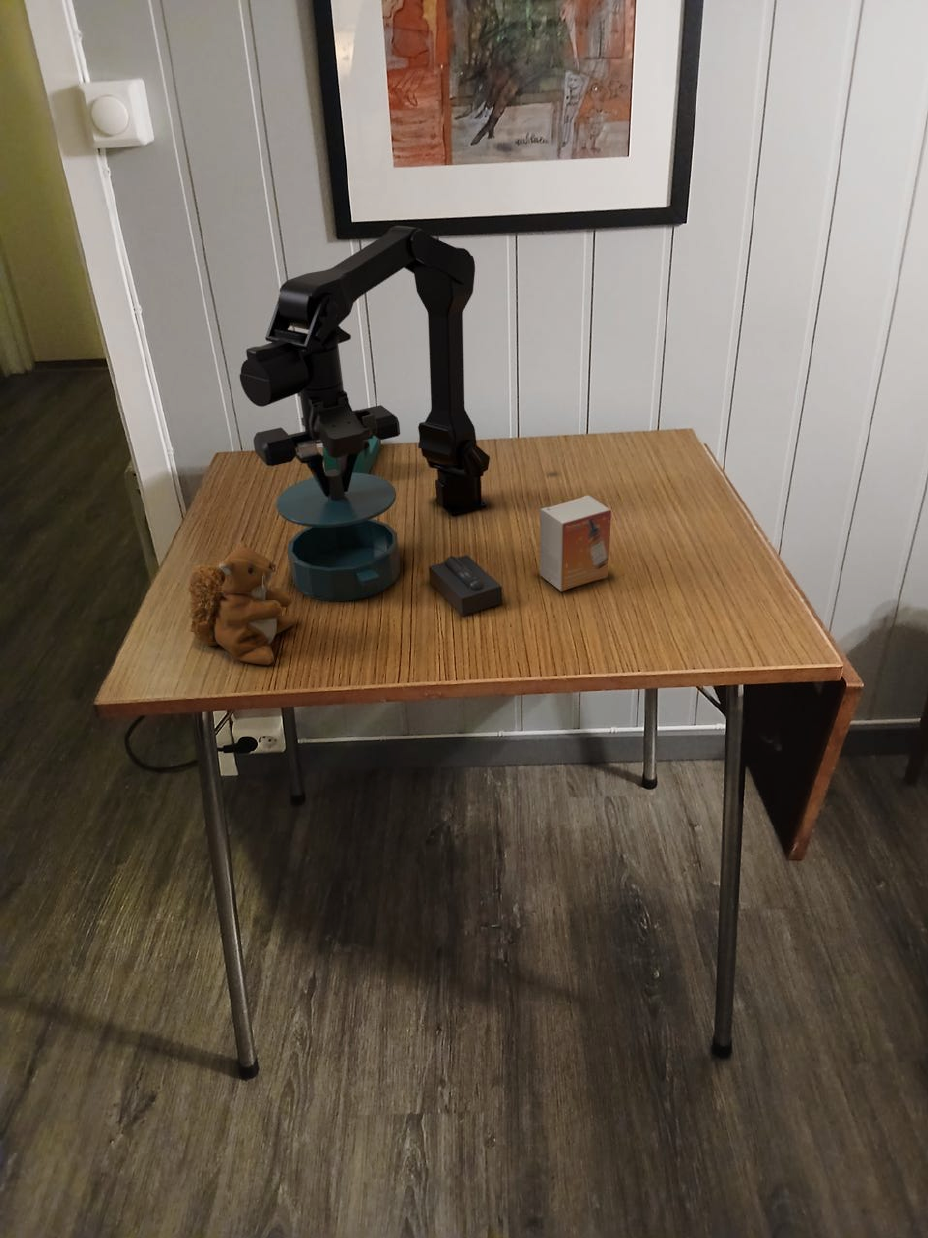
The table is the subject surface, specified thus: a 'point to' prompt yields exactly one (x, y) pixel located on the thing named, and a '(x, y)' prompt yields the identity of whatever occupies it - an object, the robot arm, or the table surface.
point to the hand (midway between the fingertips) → (335, 493)
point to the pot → (344, 560)
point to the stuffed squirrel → (239, 605)
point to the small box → (574, 542)
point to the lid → (336, 500)
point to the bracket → (362, 461)
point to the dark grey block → (465, 585)
